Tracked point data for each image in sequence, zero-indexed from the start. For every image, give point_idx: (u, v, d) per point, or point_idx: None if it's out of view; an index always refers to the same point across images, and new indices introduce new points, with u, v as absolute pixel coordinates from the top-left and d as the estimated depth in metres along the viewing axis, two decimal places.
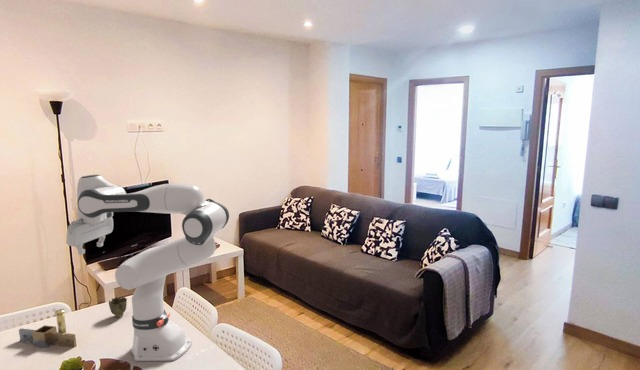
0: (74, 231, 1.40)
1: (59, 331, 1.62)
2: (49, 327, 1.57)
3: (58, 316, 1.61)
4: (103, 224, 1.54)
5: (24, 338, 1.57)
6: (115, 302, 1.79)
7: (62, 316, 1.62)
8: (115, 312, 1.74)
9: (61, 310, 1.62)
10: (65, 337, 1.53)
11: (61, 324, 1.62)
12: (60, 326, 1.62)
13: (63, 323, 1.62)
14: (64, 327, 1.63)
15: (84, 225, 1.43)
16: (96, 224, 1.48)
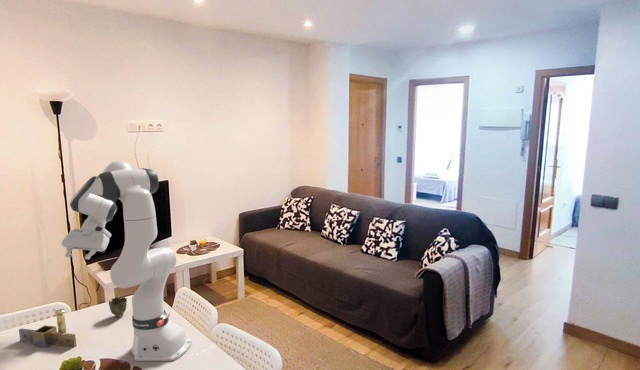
0: None
1: (59, 331, 1.62)
2: (49, 327, 1.57)
3: (58, 316, 1.61)
4: (94, 238, 1.73)
5: (24, 338, 1.57)
6: (115, 302, 1.79)
7: (62, 316, 1.62)
8: (115, 312, 1.74)
9: (61, 310, 1.62)
10: (65, 337, 1.53)
11: (61, 324, 1.62)
12: (60, 326, 1.62)
13: (63, 323, 1.62)
14: (64, 327, 1.63)
15: (77, 232, 1.76)
16: (83, 232, 1.74)
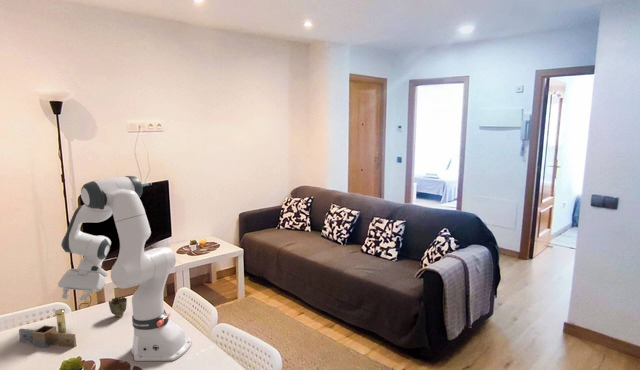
0: None
1: (59, 331, 1.62)
2: (49, 327, 1.57)
3: (58, 316, 1.61)
4: (90, 278, 1.72)
5: (24, 338, 1.57)
6: (115, 302, 1.79)
7: (62, 316, 1.62)
8: (115, 312, 1.74)
9: (61, 310, 1.62)
10: (65, 337, 1.53)
11: (61, 324, 1.62)
12: (60, 326, 1.62)
13: (63, 323, 1.62)
14: (64, 327, 1.63)
15: (73, 272, 1.75)
16: (79, 272, 1.73)
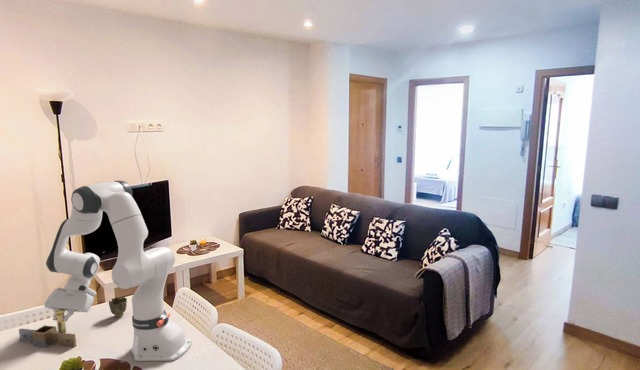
0: None
1: (59, 331, 1.62)
2: (49, 327, 1.57)
3: (58, 316, 1.61)
4: (78, 298, 1.65)
5: (24, 338, 1.57)
6: (115, 302, 1.79)
7: (62, 316, 1.62)
8: (115, 312, 1.74)
9: (61, 310, 1.62)
10: (65, 337, 1.53)
11: (61, 324, 1.62)
12: (60, 326, 1.62)
13: (63, 323, 1.62)
14: (64, 327, 1.63)
15: (60, 291, 1.68)
16: (66, 292, 1.66)
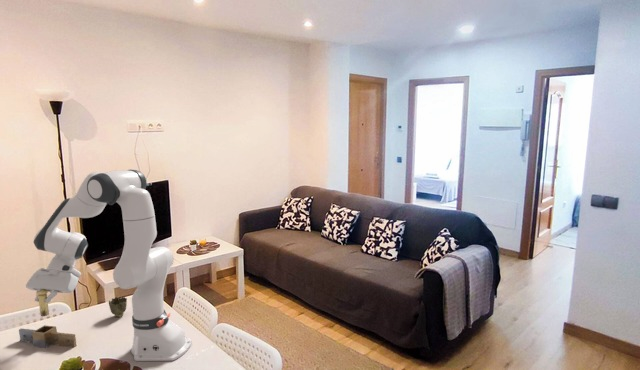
0: None
1: (41, 313, 1.53)
2: (49, 327, 1.57)
3: (40, 297, 1.52)
4: (61, 278, 1.56)
5: (24, 338, 1.57)
6: (115, 302, 1.79)
7: (44, 297, 1.53)
8: (115, 312, 1.74)
9: (43, 291, 1.53)
10: (65, 337, 1.53)
11: (43, 306, 1.53)
12: (43, 307, 1.53)
13: (45, 304, 1.54)
14: (46, 309, 1.54)
15: (43, 271, 1.59)
16: (49, 272, 1.57)
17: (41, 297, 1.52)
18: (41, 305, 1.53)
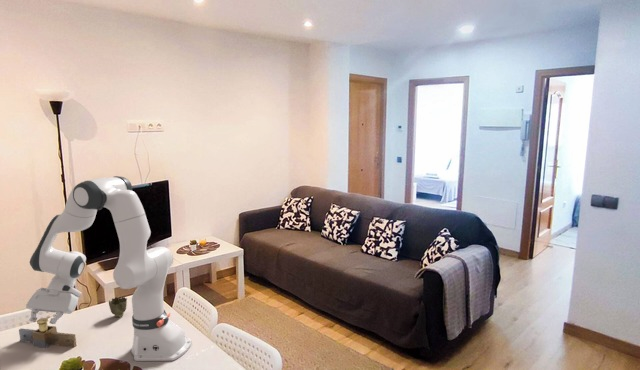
0: None
1: None
2: (49, 327, 1.57)
3: (40, 326, 1.53)
4: (61, 299, 1.57)
5: (24, 338, 1.57)
6: (115, 302, 1.79)
7: (45, 326, 1.54)
8: (115, 312, 1.74)
9: (44, 319, 1.54)
10: (65, 337, 1.53)
11: None
12: None
13: None
14: None
15: (43, 291, 1.60)
16: (49, 292, 1.58)
17: (41, 326, 1.53)
18: None
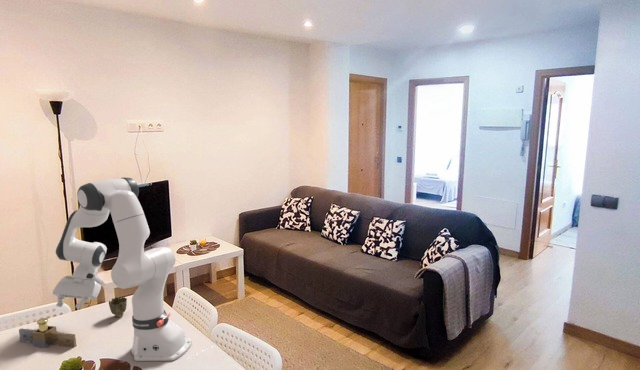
0: None
1: None
2: (49, 327, 1.57)
3: (40, 326, 1.53)
4: (86, 286, 1.69)
5: (24, 338, 1.57)
6: (115, 302, 1.79)
7: (45, 326, 1.54)
8: (115, 312, 1.74)
9: (44, 319, 1.54)
10: (65, 337, 1.53)
11: None
12: None
13: None
14: None
15: (68, 279, 1.72)
16: (74, 280, 1.70)
17: (41, 326, 1.53)
18: None
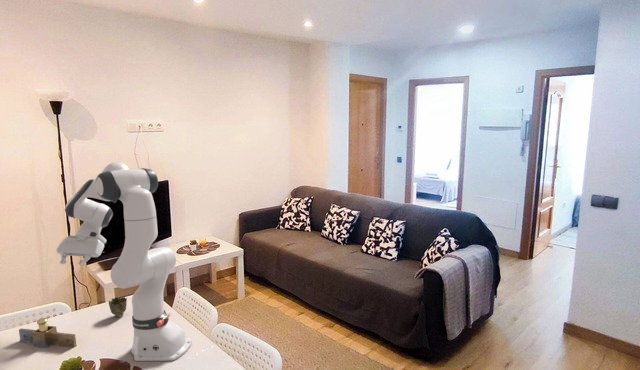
0: None
1: None
2: (49, 327, 1.57)
3: (40, 326, 1.53)
4: (89, 244, 1.71)
5: (24, 338, 1.57)
6: (115, 302, 1.79)
7: (45, 326, 1.54)
8: (115, 312, 1.74)
9: (44, 319, 1.54)
10: (65, 337, 1.53)
11: None
12: None
13: None
14: None
15: (72, 238, 1.74)
16: (78, 238, 1.71)
17: (41, 326, 1.53)
18: None
